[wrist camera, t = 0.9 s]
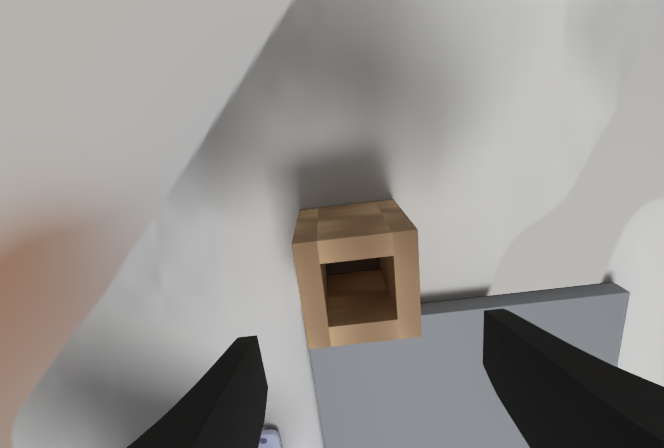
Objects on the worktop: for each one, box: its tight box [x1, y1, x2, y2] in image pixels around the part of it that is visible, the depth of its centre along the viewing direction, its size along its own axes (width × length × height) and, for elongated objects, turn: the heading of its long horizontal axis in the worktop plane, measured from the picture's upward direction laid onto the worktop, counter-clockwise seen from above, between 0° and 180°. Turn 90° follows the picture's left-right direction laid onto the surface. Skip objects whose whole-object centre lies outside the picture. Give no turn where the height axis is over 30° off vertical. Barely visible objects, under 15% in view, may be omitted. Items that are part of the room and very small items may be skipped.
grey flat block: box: [309, 282, 630, 448], centre depth 19 cm, size 18×12×7 cm, turn 96°
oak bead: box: [292, 199, 422, 349], centre depth 17 cm, size 5×5×5 cm
